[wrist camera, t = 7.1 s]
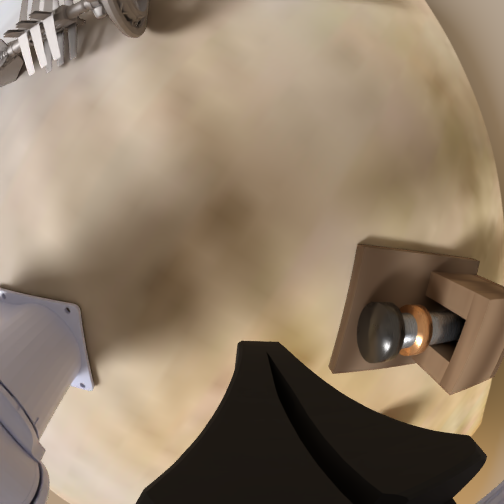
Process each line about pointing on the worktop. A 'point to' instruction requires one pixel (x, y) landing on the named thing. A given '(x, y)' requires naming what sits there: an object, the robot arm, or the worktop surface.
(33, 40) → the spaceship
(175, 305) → the worktop surface
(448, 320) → the shaft
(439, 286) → the bearing housing
